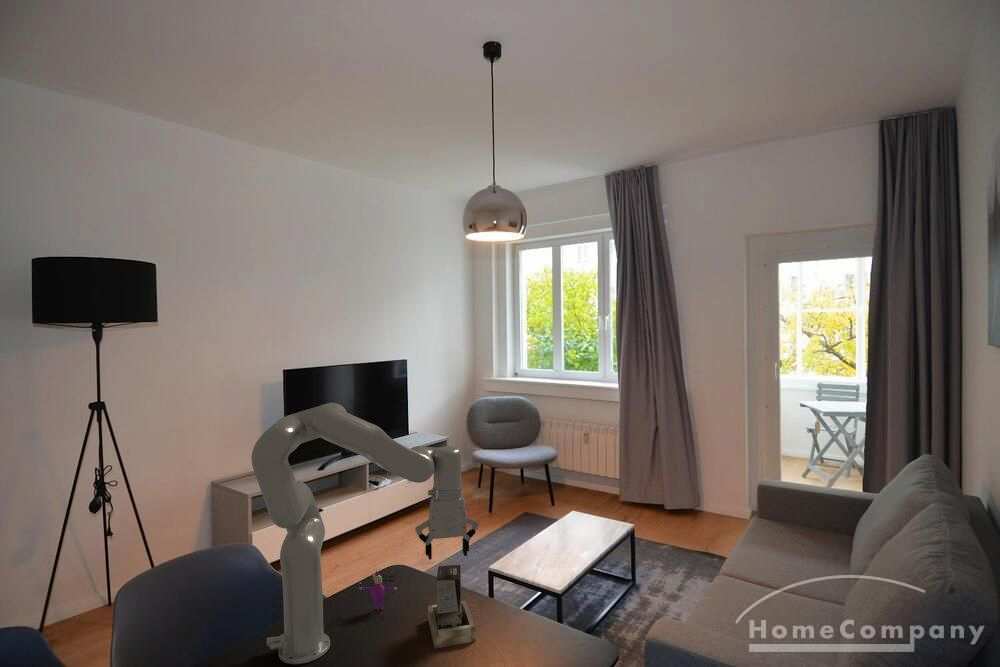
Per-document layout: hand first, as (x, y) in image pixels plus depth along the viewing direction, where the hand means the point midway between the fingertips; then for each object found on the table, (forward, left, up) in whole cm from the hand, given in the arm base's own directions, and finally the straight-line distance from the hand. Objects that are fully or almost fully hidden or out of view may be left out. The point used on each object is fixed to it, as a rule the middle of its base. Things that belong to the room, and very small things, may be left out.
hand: (447, 555), depth 146 cm
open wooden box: (+1, 0, -21) cm, 21 cm away
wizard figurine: (-18, +16, -21) cm, 32 cm away
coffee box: (0, 0, -21) cm, 21 cm away
